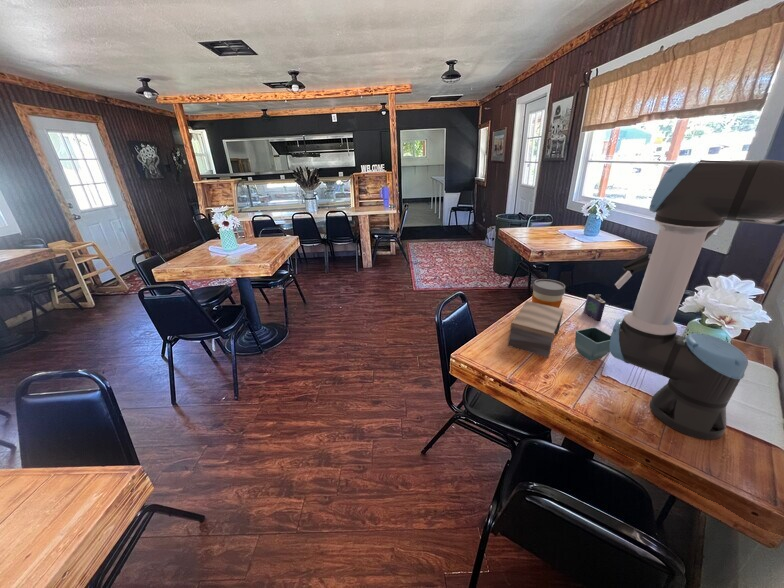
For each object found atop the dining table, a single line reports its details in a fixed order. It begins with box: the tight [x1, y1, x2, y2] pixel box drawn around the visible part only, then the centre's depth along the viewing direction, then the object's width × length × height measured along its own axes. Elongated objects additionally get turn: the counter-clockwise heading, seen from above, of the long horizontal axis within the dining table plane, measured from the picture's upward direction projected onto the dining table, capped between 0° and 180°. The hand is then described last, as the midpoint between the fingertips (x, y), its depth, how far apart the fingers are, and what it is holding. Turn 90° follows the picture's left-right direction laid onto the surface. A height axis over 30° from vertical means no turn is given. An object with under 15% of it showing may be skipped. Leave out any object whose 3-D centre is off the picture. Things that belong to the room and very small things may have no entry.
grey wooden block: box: [507, 300, 564, 359], centre depth 121 cm, size 22×14×10 cm, turn 145°
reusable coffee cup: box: [531, 278, 566, 308], centre depth 137 cm, size 13×13×15 cm
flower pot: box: [574, 326, 611, 362], centre depth 110 cm, size 9×9×9 cm
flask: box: [582, 293, 607, 322], centre depth 136 cm, size 9×3×11 cm, turn 9°
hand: (635, 294), depth 106 cm, fingers open, 13 cm apart
